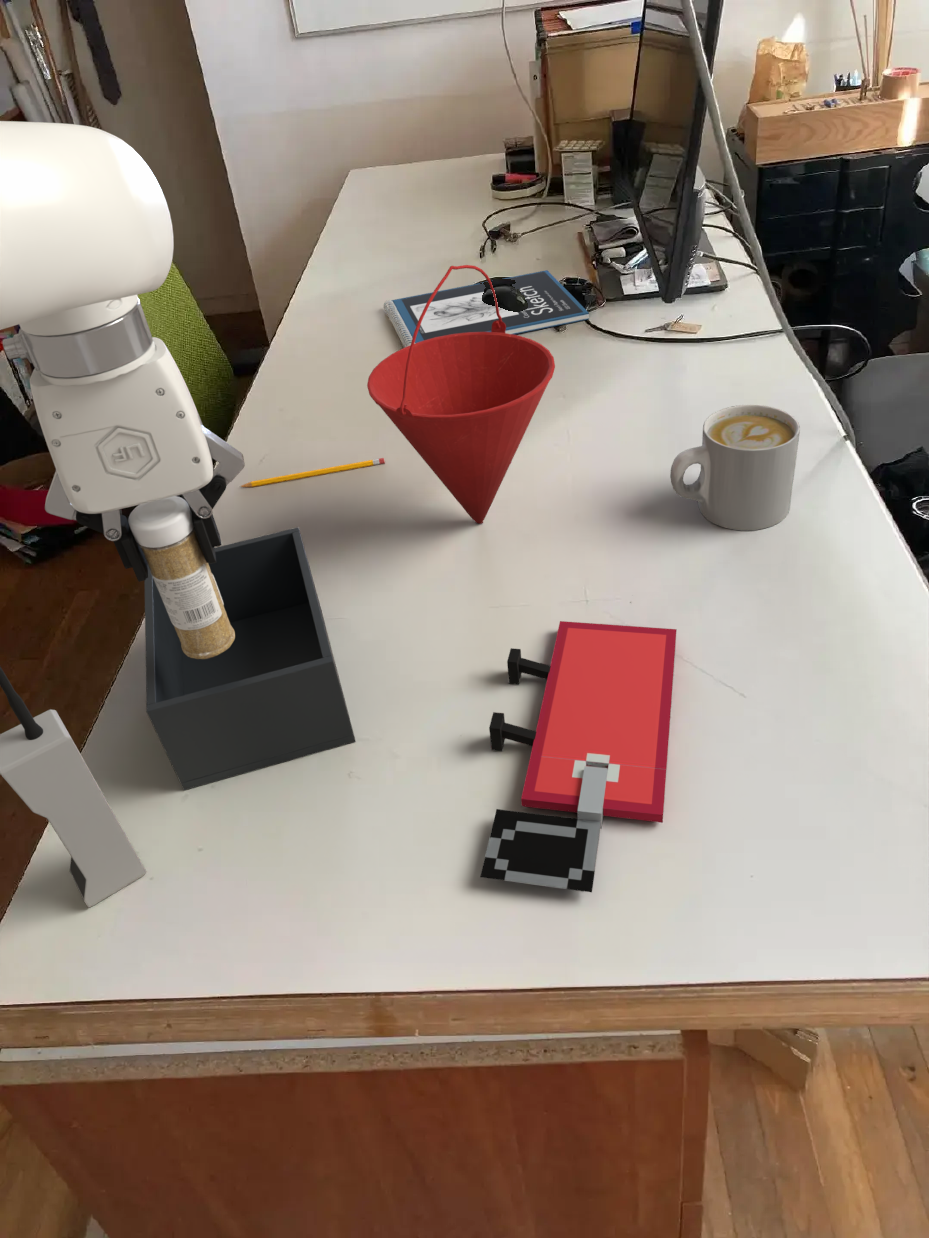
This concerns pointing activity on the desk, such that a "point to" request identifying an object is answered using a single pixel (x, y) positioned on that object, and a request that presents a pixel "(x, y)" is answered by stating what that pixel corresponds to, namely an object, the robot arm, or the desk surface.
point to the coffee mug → (742, 467)
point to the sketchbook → (485, 310)
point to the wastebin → (248, 669)
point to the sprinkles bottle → (182, 576)
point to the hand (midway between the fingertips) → (176, 560)
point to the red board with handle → (585, 750)
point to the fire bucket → (465, 402)
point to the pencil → (314, 473)
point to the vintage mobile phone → (67, 800)
